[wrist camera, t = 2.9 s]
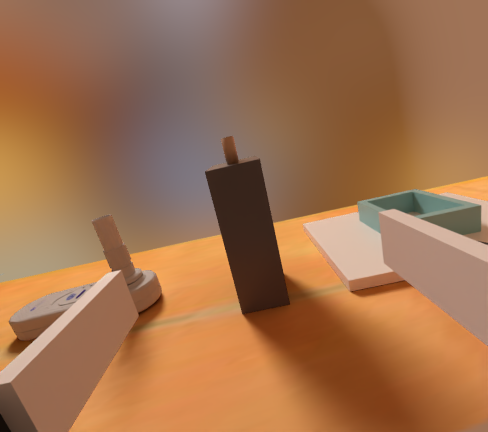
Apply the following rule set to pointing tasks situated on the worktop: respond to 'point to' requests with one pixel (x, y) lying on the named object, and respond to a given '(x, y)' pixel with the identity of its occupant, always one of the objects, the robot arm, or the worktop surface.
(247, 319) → the worktop surface
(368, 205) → the header board
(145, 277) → the electronic device
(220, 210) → the block
